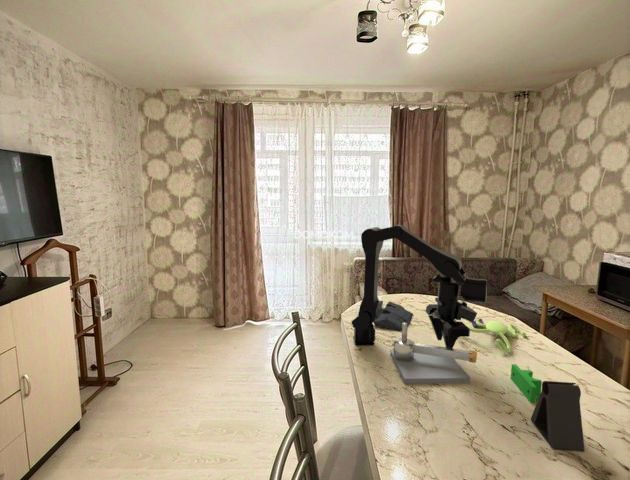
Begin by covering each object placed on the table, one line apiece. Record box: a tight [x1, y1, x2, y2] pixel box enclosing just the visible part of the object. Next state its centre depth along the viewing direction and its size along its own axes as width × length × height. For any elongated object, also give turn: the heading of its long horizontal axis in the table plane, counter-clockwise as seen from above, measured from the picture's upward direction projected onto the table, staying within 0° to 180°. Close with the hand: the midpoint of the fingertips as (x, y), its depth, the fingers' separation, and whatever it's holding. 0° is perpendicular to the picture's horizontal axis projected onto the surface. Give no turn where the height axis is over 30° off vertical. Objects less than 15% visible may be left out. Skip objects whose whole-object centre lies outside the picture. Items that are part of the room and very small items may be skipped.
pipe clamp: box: [510, 363, 543, 404], centre depth 89 cm, size 11×4×5 cm, turn 173°
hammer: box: [393, 323, 478, 364], centre depth 100 cm, size 23×6×10 cm, turn 70°
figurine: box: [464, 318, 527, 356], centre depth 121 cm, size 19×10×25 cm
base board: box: [390, 350, 471, 385], centre depth 100 cm, size 18×16×2 cm
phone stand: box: [530, 380, 585, 452], centre depth 72 cm, size 9×6×12 cm, turn 173°
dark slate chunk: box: [373, 301, 414, 332], centre depth 138 cm, size 15×22×5 cm
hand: (444, 345), depth 105 cm, fingers open, 7 cm apart
